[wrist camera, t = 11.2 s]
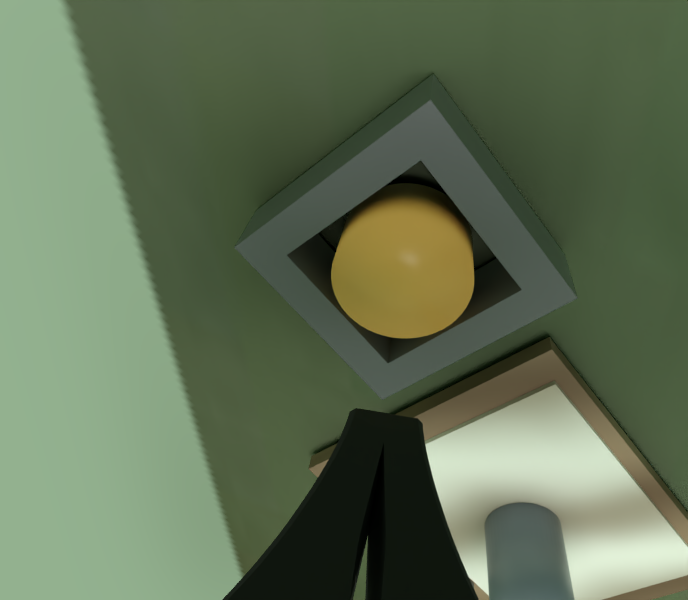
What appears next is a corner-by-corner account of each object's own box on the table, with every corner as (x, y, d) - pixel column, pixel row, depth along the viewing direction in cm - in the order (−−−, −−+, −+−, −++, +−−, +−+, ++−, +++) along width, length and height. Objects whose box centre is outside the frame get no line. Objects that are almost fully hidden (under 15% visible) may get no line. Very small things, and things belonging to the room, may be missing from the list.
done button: (498, 257, 20) (503, 296, 18) (394, 318, 21) (388, 359, 20) (420, 156, 18) (416, 187, 16) (316, 230, 20) (302, 266, 18)
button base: (564, 254, 20) (577, 298, 18) (388, 353, 23) (382, 399, 21) (433, 73, 18) (430, 99, 16) (255, 210, 21) (233, 247, 19)
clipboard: (726, 561, 27) (737, 589, 26) (497, 627, 32) (499, 653, 31) (549, 336, 22) (554, 359, 21) (311, 456, 27) (306, 479, 26)
